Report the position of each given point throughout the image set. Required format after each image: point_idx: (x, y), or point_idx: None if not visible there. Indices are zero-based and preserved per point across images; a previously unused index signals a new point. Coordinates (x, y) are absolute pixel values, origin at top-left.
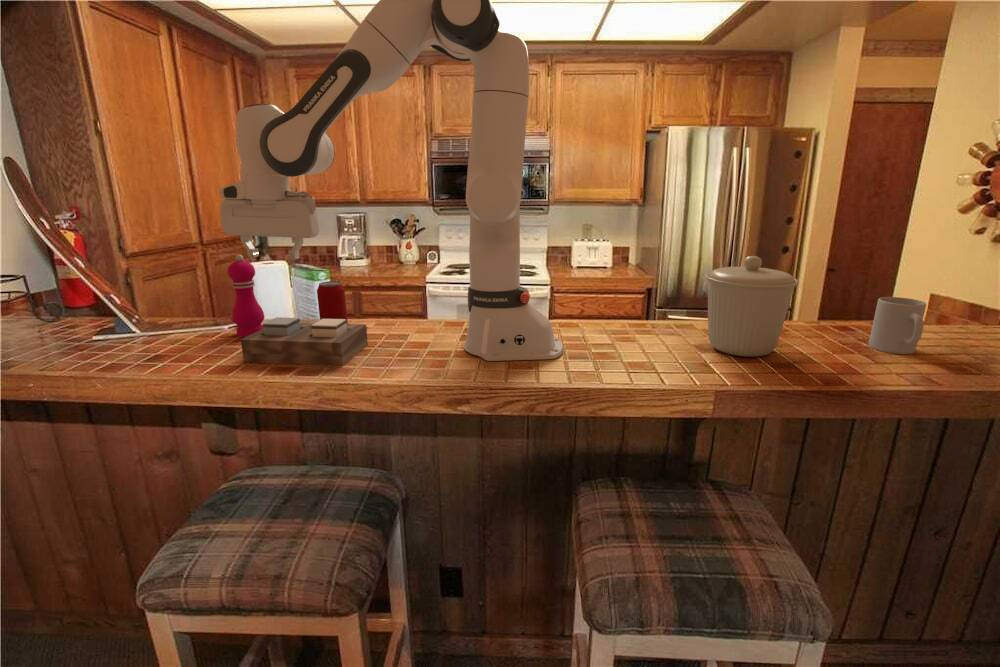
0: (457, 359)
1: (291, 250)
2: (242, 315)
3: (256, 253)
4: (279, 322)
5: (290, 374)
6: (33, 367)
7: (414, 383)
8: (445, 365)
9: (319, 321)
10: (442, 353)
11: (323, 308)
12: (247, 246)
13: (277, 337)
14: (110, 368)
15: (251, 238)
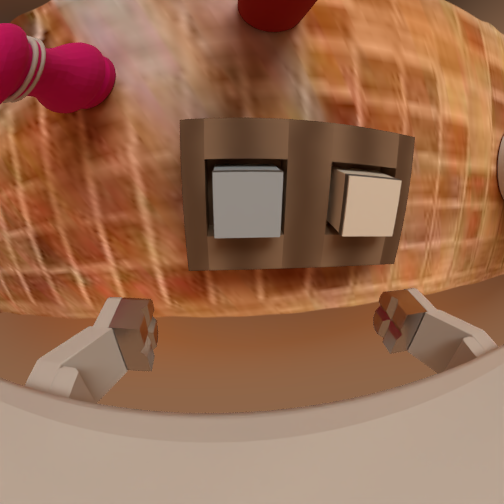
0: (488, 208)
1: (403, 337)
2: (70, 107)
3: (149, 325)
4: (252, 223)
5: (307, 287)
6: None
7: (448, 286)
8: (478, 229)
9: (350, 204)
10: (479, 184)
11: (270, 12)
12: (112, 381)
13: (261, 248)
14: (38, 291)
15: (80, 386)
